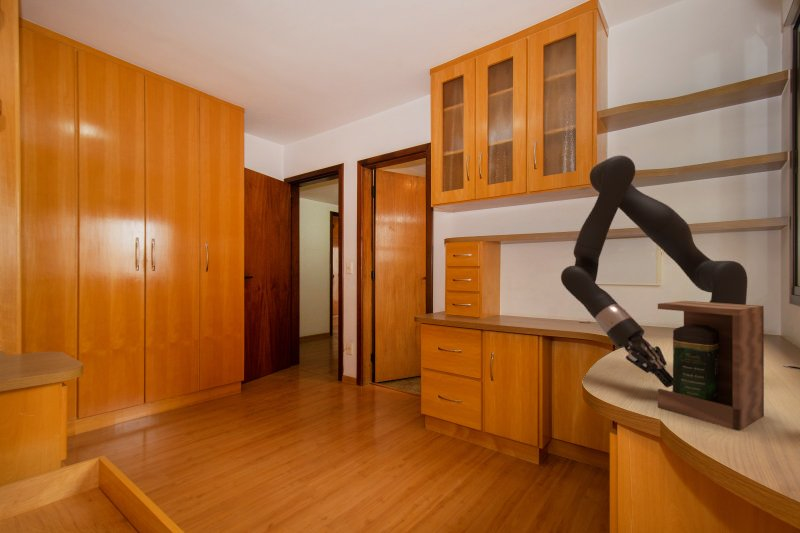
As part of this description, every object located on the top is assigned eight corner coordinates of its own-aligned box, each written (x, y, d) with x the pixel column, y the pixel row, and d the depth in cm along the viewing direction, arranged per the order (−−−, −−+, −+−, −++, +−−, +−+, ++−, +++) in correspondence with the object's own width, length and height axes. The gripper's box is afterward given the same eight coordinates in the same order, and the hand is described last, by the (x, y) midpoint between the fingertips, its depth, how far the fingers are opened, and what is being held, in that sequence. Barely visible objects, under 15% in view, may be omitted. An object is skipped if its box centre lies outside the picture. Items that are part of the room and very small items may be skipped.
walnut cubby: (685, 396, 90) (685, 300, 90) (763, 415, 78) (763, 305, 78) (657, 407, 83) (657, 303, 83) (739, 430, 71) (739, 309, 71)
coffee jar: (715, 418, 77) (715, 329, 77) (668, 408, 82) (668, 324, 82) (721, 407, 83) (721, 324, 83) (678, 397, 89) (678, 320, 89)
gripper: (615, 318, 91) (671, 381, 81) (642, 314, 98) (698, 372, 88) (594, 336, 96) (645, 398, 85) (621, 331, 103) (672, 388, 92)
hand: (671, 385), depth 87 cm, fingers closed
